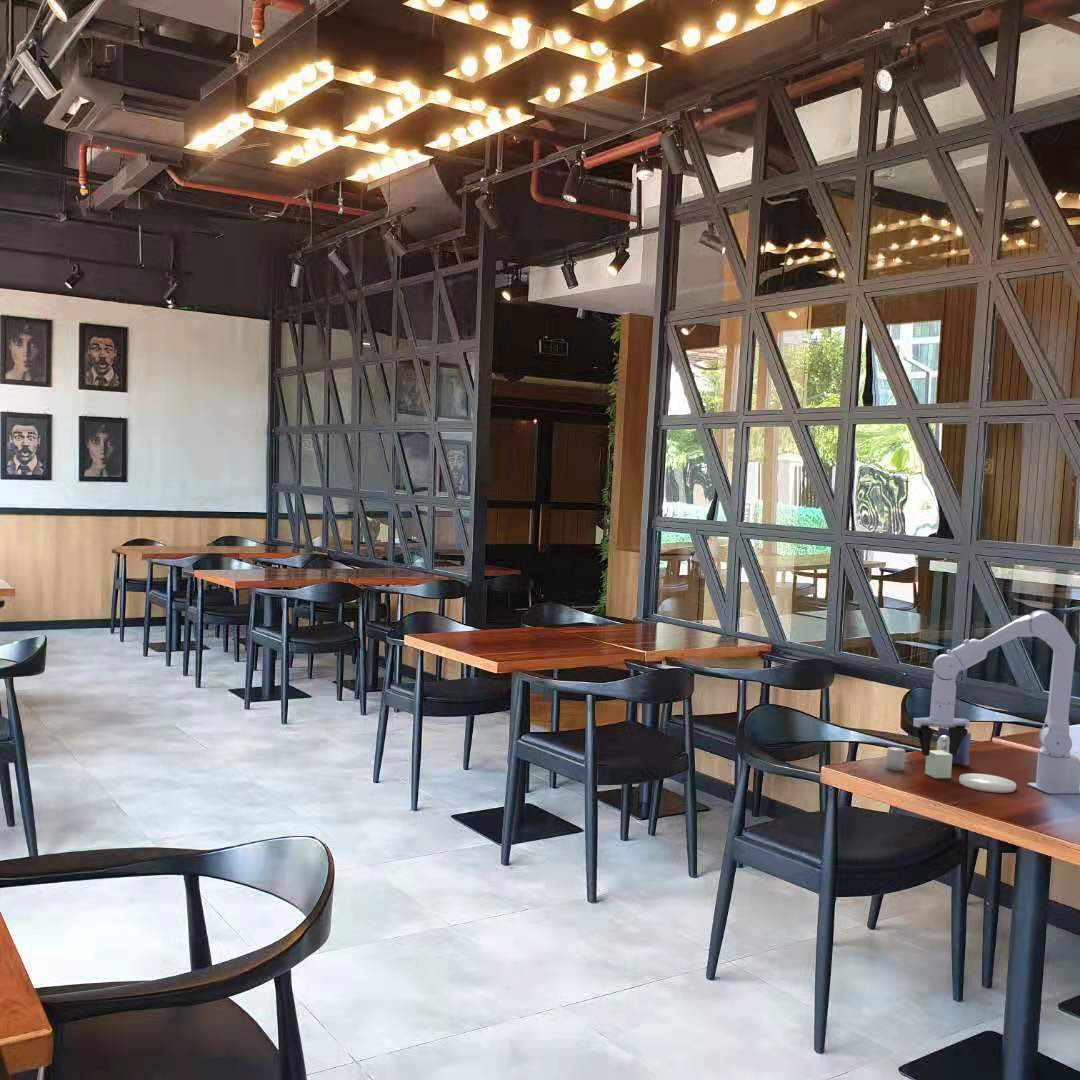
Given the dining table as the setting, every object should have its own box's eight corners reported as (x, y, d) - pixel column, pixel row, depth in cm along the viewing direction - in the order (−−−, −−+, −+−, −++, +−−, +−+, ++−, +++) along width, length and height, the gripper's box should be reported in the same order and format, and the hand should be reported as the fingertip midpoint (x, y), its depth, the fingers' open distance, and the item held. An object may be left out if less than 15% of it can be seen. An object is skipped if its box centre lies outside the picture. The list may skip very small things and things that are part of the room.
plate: (994, 778, 275) (995, 773, 275) (1027, 792, 262) (1027, 787, 262) (948, 778, 272) (949, 773, 272) (979, 792, 259) (979, 788, 259)
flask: (970, 765, 287) (973, 725, 286) (964, 767, 285) (967, 727, 284) (939, 758, 294) (941, 719, 293) (933, 759, 292) (935, 720, 292)
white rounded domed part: (898, 766, 282) (899, 747, 282) (907, 770, 278) (908, 751, 278) (882, 766, 281) (884, 747, 281) (891, 770, 277) (892, 751, 277)
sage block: (940, 773, 277) (942, 750, 277) (950, 778, 273) (952, 754, 272) (924, 773, 276) (926, 750, 276) (934, 778, 272) (936, 754, 271)
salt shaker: (945, 765, 285) (947, 733, 285) (952, 769, 281) (955, 737, 281) (932, 765, 284) (934, 733, 284) (940, 769, 281) (942, 736, 280)
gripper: (959, 699, 279) (955, 751, 279) (908, 698, 276) (904, 750, 277) (975, 705, 272) (971, 758, 272) (923, 704, 269) (919, 757, 270)
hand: (939, 755), depth 274 cm, fingers open, 7 cm apart
